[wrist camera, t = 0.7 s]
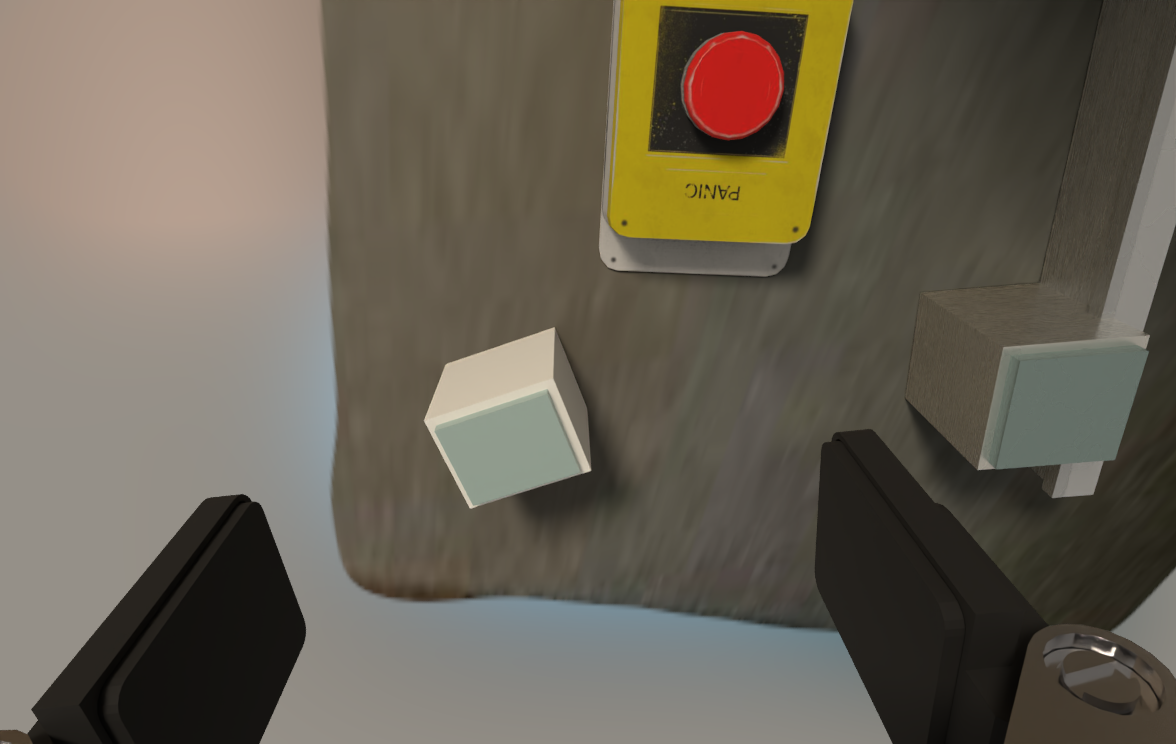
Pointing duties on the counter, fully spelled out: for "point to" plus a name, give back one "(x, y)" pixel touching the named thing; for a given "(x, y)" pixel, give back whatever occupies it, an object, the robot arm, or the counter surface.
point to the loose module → (510, 419)
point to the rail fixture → (1069, 282)
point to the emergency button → (716, 131)
